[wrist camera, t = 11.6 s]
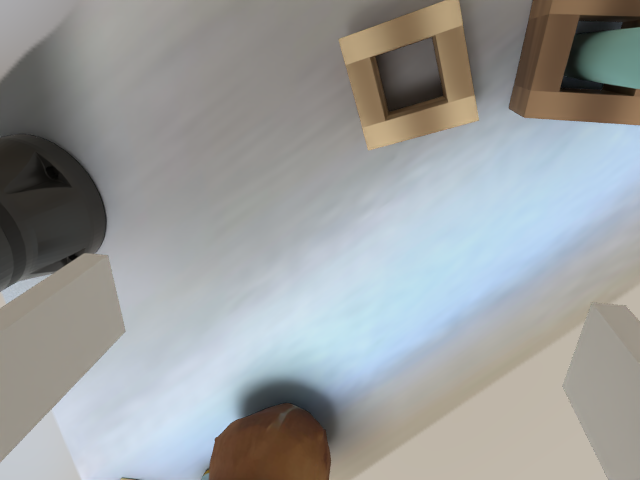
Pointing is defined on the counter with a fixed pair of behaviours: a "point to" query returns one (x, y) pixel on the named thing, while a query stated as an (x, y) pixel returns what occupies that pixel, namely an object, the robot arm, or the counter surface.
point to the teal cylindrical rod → (606, 57)
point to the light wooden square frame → (452, 68)
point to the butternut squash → (272, 447)
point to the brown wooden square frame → (551, 59)
